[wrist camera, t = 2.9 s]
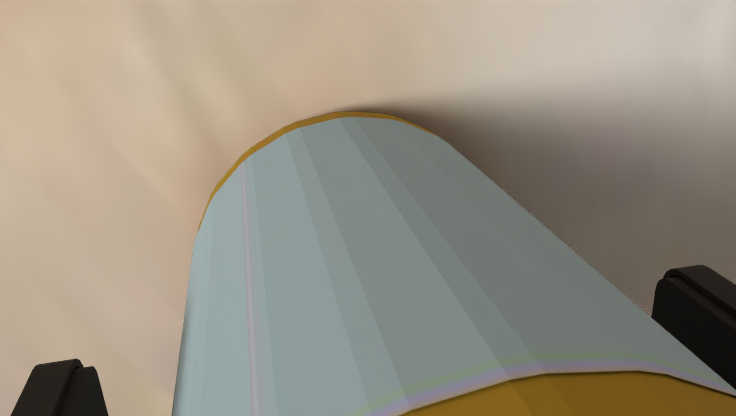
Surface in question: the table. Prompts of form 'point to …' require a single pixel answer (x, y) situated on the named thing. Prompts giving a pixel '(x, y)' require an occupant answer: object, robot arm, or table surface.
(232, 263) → the bottle
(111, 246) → the table surface
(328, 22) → the table surface
